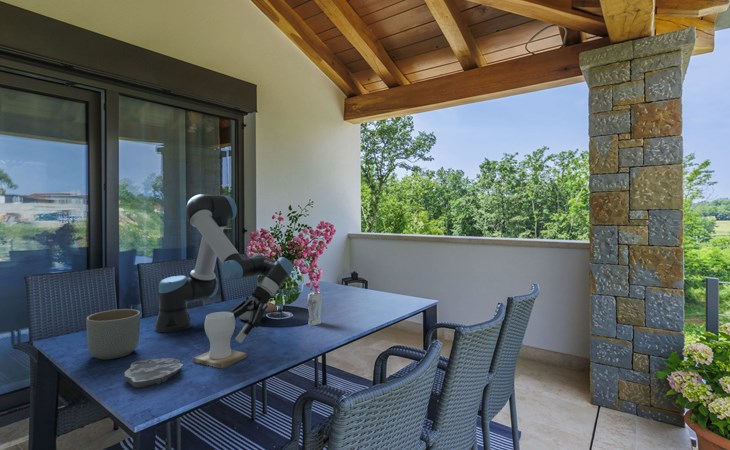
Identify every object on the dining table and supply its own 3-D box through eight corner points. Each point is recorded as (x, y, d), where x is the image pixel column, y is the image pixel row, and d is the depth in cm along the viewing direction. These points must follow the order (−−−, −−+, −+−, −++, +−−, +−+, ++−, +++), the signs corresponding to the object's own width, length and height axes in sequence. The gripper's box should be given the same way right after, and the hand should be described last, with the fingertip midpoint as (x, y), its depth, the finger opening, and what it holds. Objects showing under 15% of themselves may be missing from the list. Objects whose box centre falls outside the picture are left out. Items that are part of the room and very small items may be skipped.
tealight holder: (260, 310, 211) (260, 300, 210) (269, 307, 218) (269, 297, 218) (272, 312, 207) (272, 302, 207) (281, 309, 215) (281, 299, 214)
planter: (100, 367, 134) (99, 323, 133) (78, 357, 143) (77, 316, 142) (149, 352, 148) (148, 313, 147) (126, 344, 157) (126, 306, 156)
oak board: (193, 361, 139) (193, 357, 139) (218, 351, 150) (218, 347, 150) (222, 368, 134) (222, 364, 134) (246, 357, 145) (246, 353, 144)
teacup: (239, 323, 187) (239, 306, 187) (235, 317, 197) (235, 302, 197) (268, 319, 194) (268, 303, 194) (263, 314, 203) (263, 299, 203)
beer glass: (319, 326, 184) (319, 294, 184) (305, 325, 185) (305, 294, 185) (323, 321, 191) (323, 291, 190) (310, 320, 192) (310, 291, 192)
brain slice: (188, 380, 125) (188, 371, 125) (126, 394, 115) (126, 385, 115) (177, 361, 141) (177, 353, 141) (122, 372, 131) (122, 363, 131)
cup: (198, 358, 139) (197, 317, 138) (219, 348, 149) (219, 310, 148) (221, 362, 135) (221, 320, 135) (241, 352, 145) (241, 313, 144)
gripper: (288, 301, 147) (252, 350, 137) (255, 291, 165) (221, 334, 155) (276, 290, 143) (238, 339, 133) (243, 281, 161) (208, 323, 151)
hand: (229, 336), depth 144 cm, fingers open, 13 cm apart
